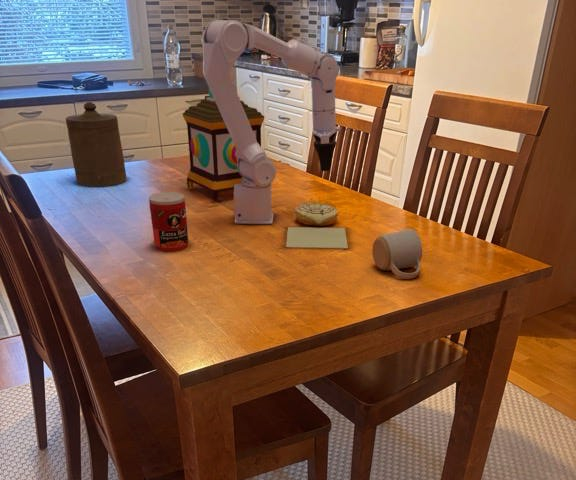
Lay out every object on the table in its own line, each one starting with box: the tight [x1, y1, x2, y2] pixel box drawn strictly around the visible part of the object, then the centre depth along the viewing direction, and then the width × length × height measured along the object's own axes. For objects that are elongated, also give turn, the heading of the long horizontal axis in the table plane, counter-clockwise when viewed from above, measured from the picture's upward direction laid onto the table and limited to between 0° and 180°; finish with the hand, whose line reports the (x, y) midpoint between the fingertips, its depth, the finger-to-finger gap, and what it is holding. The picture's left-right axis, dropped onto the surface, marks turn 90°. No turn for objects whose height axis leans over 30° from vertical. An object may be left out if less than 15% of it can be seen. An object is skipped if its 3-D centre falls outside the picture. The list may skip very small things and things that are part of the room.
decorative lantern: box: [182, 87, 265, 203], centre depth 162 cm, size 20×20×30 cm
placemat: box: [285, 226, 349, 250], centre depth 137 cm, size 14×14×1 cm
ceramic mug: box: [371, 228, 423, 280], centre depth 119 cm, size 11×8×8 cm
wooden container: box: [65, 101, 127, 188], centre depth 174 cm, size 15×15×22 cm
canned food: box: [148, 191, 189, 252], centre depth 129 cm, size 8×8×11 cm
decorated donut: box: [294, 202, 339, 227], centre depth 146 cm, size 10×11×4 cm
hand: (325, 166), depth 150 cm, fingers open, 7 cm apart
